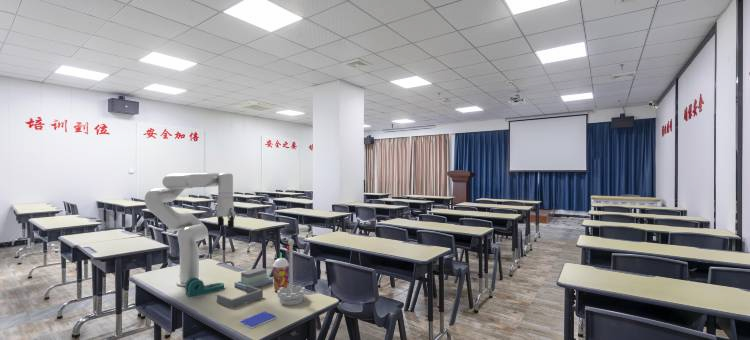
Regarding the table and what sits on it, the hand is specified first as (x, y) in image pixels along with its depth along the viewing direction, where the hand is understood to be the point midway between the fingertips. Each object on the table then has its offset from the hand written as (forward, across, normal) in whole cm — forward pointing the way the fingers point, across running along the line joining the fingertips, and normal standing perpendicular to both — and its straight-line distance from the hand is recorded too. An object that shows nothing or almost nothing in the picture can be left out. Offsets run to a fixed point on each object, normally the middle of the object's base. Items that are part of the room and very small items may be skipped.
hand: (225, 226), depth 194 cm
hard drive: (+33, +53, -17) cm, 65 cm away
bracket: (+33, +1, -12) cm, 35 cm away
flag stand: (+33, +47, +6) cm, 58 cm away
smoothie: (+32, +32, +12) cm, 47 cm away
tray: (+32, +13, +9) cm, 36 cm away
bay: (+32, +26, -8) cm, 42 cm away
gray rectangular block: (+32, +13, +9) cm, 35 cm away
